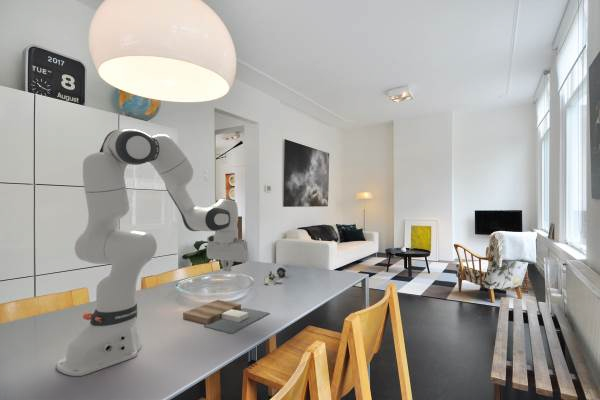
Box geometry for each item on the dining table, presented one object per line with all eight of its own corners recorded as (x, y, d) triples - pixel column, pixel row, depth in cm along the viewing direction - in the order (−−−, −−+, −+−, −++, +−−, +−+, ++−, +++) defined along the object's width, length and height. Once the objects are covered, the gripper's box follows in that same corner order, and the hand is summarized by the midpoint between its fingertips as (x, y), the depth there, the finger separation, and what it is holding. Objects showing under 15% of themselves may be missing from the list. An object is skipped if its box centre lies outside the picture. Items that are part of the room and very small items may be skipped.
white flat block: (238, 322, 125) (238, 317, 125) (221, 318, 130) (221, 313, 130) (248, 317, 131) (248, 312, 131) (231, 313, 135) (231, 309, 135)
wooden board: (207, 325, 123) (207, 318, 124) (183, 318, 130) (183, 312, 130) (241, 309, 141) (241, 304, 141) (217, 305, 148) (217, 299, 148)
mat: (231, 334, 115) (231, 332, 115) (204, 326, 122) (204, 325, 122) (269, 313, 136) (269, 312, 136) (243, 308, 143) (243, 307, 143)
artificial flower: (288, 279, 202) (291, 265, 200) (270, 292, 182) (273, 277, 180) (276, 274, 206) (279, 260, 204) (257, 287, 186) (260, 271, 184)
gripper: (251, 238, 129) (251, 272, 129) (215, 236, 139) (214, 267, 139) (241, 239, 124) (241, 275, 123) (204, 237, 134) (204, 270, 134)
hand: (227, 271), depth 131 cm, fingers closed
